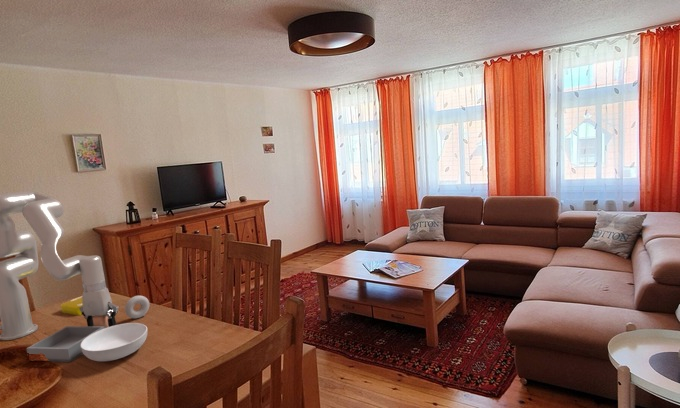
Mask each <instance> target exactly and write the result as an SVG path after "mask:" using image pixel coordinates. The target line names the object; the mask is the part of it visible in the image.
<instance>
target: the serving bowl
mask: <svg viewBox="0 0 680 408" xmlns="http://www.w3.org/2000/svg"><path fill="white" fill-rule="evenodd" d="M147 337H148V327H147V325H145V324H144V323H140V322H126V323H120V324H116V325H115V326H111V327H108V328H105V329H102V330H99V331H97V332H95V333H93V334H91V335H89V336H88V337H86V338H85V339H84V340H83V341H82V342H81V344H80V347H81V350H82V352H83V354H82V355H83V356H85V357H86V358H87V359H89V360H91V361H95V362H110V361H115V360H119V359H122V358H125V357H127V356H129V355H131V354H133V353H135V352H137V350H139V348H141V347H142V346H143V345H144V343H145V342H146V339H147Z"/></svg>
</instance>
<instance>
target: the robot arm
mask: <svg viewBox="0 0 680 408" xmlns="http://www.w3.org/2000/svg"><path fill="white" fill-rule="evenodd" d="M64 212H65V210H64V205H63V204H62V203H61V202H60V201H59V200H58V199H56V198H54V197H51V196H48V195H45V194H42V193H39V192H36V191H32V190H23V191H22V190H21V191H16V192H7V193H5V192H4V193H0V259H4V260H1V261H0V322H1V323H0V331H1V333H0V340H1V341H10V340H11V341H12V340H15V339H20V338H23V337H26V336H28V335H31V334H33V333H35V332H36V331H38V329H39V326H38V324H36V323H33V320H32V314H31V310H30V303H29V298H28V294H27V290H26V288H25V287H24V285H23V284H22V283H20V282H19V281H20V280H22V279H25V278H27V277H30V276H32V275H34V274H35V273H37V272H38V270H39V265H40V264H39V255H38V246H37V240H36V237H35V236H34V234H33V233H32V232H30V231H28V230H24V229H21V230H16V224H15V222H14V220H13V218H11V216H10V215H15V214H20V213H21V214H22V215H23V217H24V218H25V220H26V221H27V223H28V224H29V226H30V227H31V229H32V230H33V232H34V233H35V234H36V236H37V238H38V239H39V240H40V242H41V244H40V252H39V253H40V259H41V263H42V265H43V266H44V268H45V270H46V271H47V272H48V274H49V275H50V276H51V277H52V278H53V279H55V280H57V281H60V282H62V281H63V282H64V281H67V280H69V279H71V278H74V277H76V276H79V275H81V276H80V277H81V281H82V285H81V286H82V288H83V291H82V295H81V296H82V302H83V306H82V307H80V308H79V310H80V311H81V312H82V316H83V317H84V319H86V324H87V325H86V326H94V324H93V318H92V317H93V316H101V315H106V316H107V317H108V325H109V327H111V326H115V325H117V322H116V316H117V314H118V312H119V308H120V307H119V305H116V304H114V303H113V302H112V301H113V300H112V296H111V294H110V292H109V291H110V290H109V288H108V287H107V284H106V279H105V274H104V273H105V272H104V268H103V262H102V260H103V259H102V258H101V256H99V255H95V254H94V255H84V254H82V255H81V254H77V255H74V256H72V257H67V258H65V259H63V260H62V259H61V257H60V256H59V254H58V251H57V244H58V242H59V240H60V239H61V238H63V236H64V235H65V234H66V231H65V228H63V226H62V225H61V224H60V222H59V221H58V218H60V217H61V216H63V214H64ZM12 256H15V257H12ZM8 257H10V258H8ZM5 258H8V259H5Z"/></svg>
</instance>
